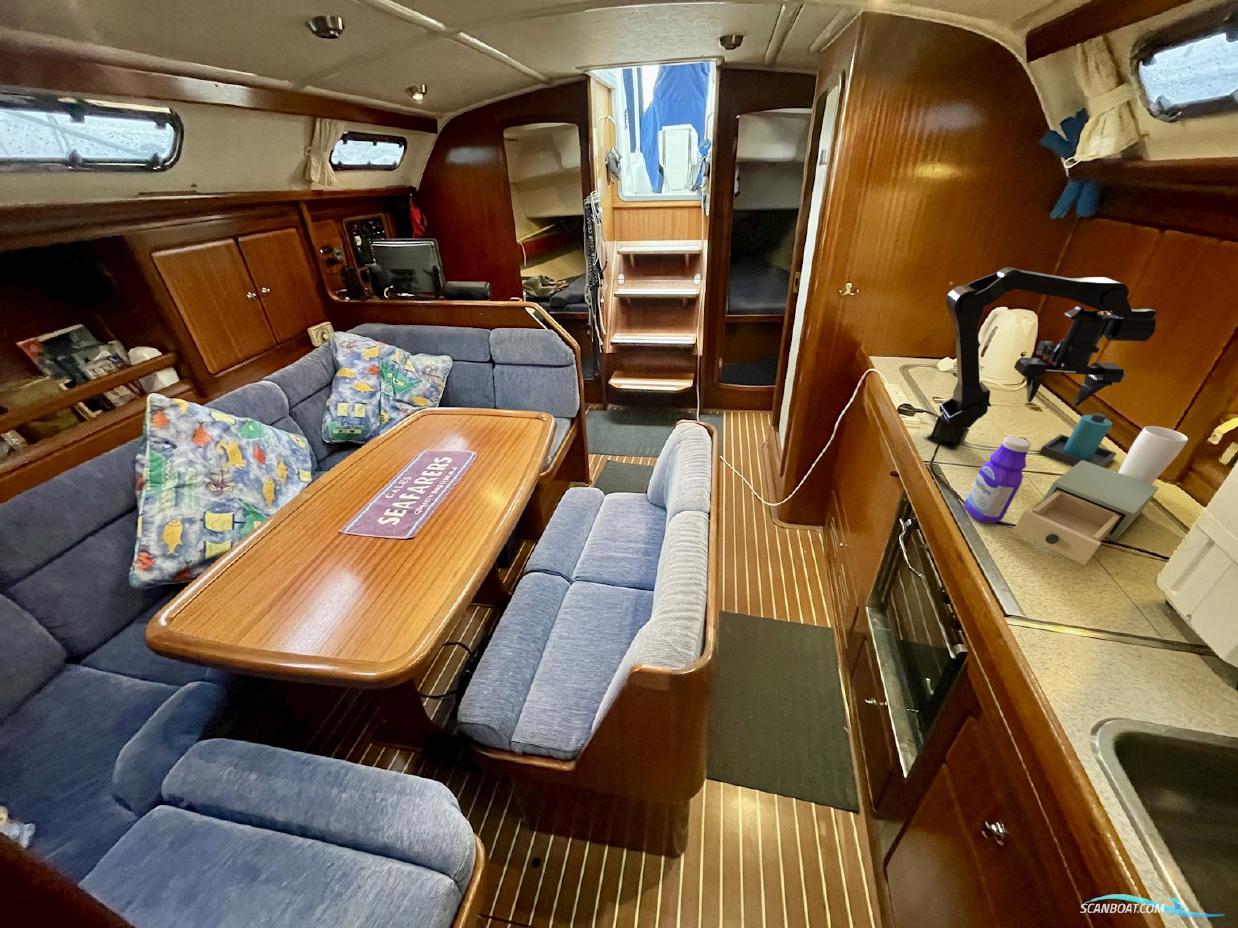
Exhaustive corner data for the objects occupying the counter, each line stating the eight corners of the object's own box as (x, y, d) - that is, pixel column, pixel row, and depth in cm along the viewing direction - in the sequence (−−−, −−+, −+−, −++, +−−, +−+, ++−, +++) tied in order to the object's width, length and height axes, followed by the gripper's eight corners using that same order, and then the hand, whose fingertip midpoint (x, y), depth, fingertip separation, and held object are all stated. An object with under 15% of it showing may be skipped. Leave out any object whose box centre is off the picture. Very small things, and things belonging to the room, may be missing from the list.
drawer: (1082, 568, 85) (1096, 547, 83) (1009, 533, 93) (1021, 513, 91) (1112, 535, 93) (1126, 516, 90) (1043, 506, 101) (1054, 487, 98)
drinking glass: (1153, 503, 103) (1198, 443, 95) (1116, 499, 104) (1158, 439, 96) (1131, 486, 109) (1172, 427, 101) (1097, 482, 110) (1135, 424, 102)
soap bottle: (1079, 461, 117) (1104, 421, 111) (1056, 450, 121) (1078, 411, 115) (1096, 458, 118) (1121, 418, 112) (1073, 447, 122) (1096, 408, 116)
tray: (1039, 453, 121) (1042, 446, 120) (1057, 440, 126) (1060, 434, 125) (1095, 473, 113) (1100, 466, 112) (1112, 459, 118) (1117, 452, 117)
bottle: (956, 503, 103) (990, 431, 94) (983, 504, 103) (1020, 432, 94) (977, 525, 97) (1015, 450, 87) (1005, 525, 97) (1047, 451, 87)
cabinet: (1114, 540, 93) (1134, 513, 89) (1038, 507, 102) (1053, 481, 98) (1140, 513, 100) (1159, 487, 97) (1067, 484, 109) (1082, 459, 106)
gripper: (1114, 331, 111) (1082, 394, 119) (1019, 326, 116) (994, 387, 124) (1142, 346, 102) (1106, 413, 110) (1037, 340, 107) (1010, 405, 115)
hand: (1051, 403), depth 115 cm, fingers open, 9 cm apart
